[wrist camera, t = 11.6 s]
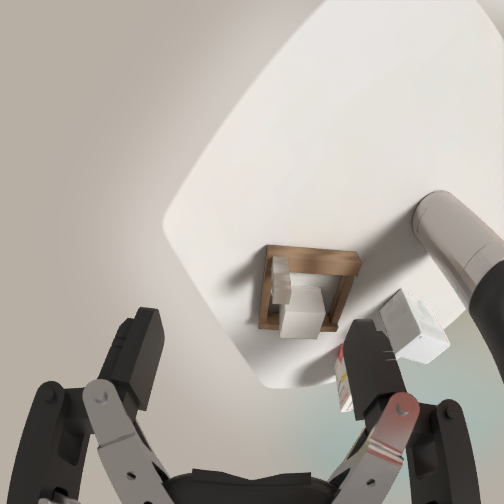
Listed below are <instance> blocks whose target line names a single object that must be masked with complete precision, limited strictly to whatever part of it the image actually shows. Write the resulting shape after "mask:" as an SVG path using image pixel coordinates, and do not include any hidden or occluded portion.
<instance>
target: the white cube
mask: <svg viewBox="0 0 504 504" xmlns="http://www.w3.org/2000/svg"><path fill="white" fill-rule="evenodd" d="M291 290H292V293H291V298H290V303H289V305H285V304H280V307H279V330H280V338H294V339H317V337H318V334H319V332H320V329H321V326H322V323H323V320H324V317H325V314H326V312H325V307H324V303H323V298H322V294H321V289H320V287H307V286H291Z"/></svg>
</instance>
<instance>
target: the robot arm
mask: <svg viewBox="0 0 504 504" xmlns="http://www.w3.org/2000/svg"><path fill="white" fill-rule="evenodd" d="M412 227H413V232H414V234H415V236H416V237H417V238H418V240H419V241H420V242H421V244H422V245H423V246H424V248H425V249H426V251H427V252H428V253H429V255H430V256H431V257H432V259H433V260H434V261H435V263H436V264H437V266H438V267H439V268H440V270H441V271H442V273H443V274H444V276H445V277H446V279H447V280H448V281H449V283H450V284H451V286H452V287H453V289H454V290H455V292H456V294H457V295H458V297H459V298H460V300H461V301H462V303H463V304H464V306H465V308H466V309H467V311H468V313H469V314H470V316H471V317H472V319H473V321H474V322H475V323H476V326H477V327H478V329H479V331H480V333H481V335H482V336H483V338H484V340H485V342H486V344H487V346H488V348H489V350H490V351H491V353H492V355H493V358H494V360H495V363H496V365H497V367H498V370H499V372H500V375H501V378H502V381H503V383H504V241H503V240H502V239H501V238H500V237H499V236H498V235H497V234H496V233H495V232H494V231H493V230H492V229H491V228H490V227H489V226H488V225H487V224H486V223H485V222H483V221H482V220H481V219H480V218H479V217H478V216H477V215H476V214H475V213H473V212H472V211H471V210H470V209H469V208H468V207H467V206H466V205H464V204H463V203H462V202H461V201H460V200H458V199H457V198H456V197H455V196H453V195H452V194H451V193H449V192H446V191H436V192H433V193H431V194H429V195H428V196H426V197H425V198H424V199H423V200H422V201H421V202H420V203H419V205H418V207H417V208H416V210H415V213H414V216H413V222H412ZM163 346H164V330H163V326H162V322H161V318H160V314H159V310H158V309H154V308H145V307H140V308H139V309H138V311H137V313H136V316H135V318H134V319H131V318H127V319H126V320H125V321H124V322H123V323H122V324H121V326H119V329H118V331H117V333H116V335H115V338H114V340H113V343H112V346H111V347H110V349H109V352H108V354H107V357H106V359H105V362H104V364H103V367H102V369H101V372H100V374H99V376H98V378H97V379H96V380H93V381H91V382H90V383H88V384H87V385H86V387H84V388H70V389H64V388H63V387H62V386H61V385H60V384H59V383H57V382H55V381H48V382H45V383H43V384H42V385H41V386H40V387H39V388H38V390H37V392H36V395H35V398H34V400H33V403H32V406H31V409H30V412H29V415H28V418H27V421H26V424H25V427H24V430H23V433H22V437H21V440H20V444H19V448H18V451H17V455H16V459H15V463H14V467H13V472H12V476H11V481H10V486H9V492H8V498H7V504H81V503H80V502H78V496H79V490H80V484H81V477H82V472H83V467H84V462H85V457H86V452H87V447H88V443H89V438H90V434H95V435H96V438H97V441H98V443H99V447H98V448H97V450H98V454H99V457H100V459H101V462H102V464H103V466H104V468H105V470H106V472H107V475H108V477H109V479H110V481H111V483H112V485H113V487H114V489H115V491H116V493H117V495H118V497H119V498H120V500H121V502H122V504H382V502H383V500H384V499H385V497H386V495H387V494H388V492H389V490H390V488H391V486H392V484H393V482H394V481H395V479H396V477H397V475H398V473H399V471H400V469H401V467H402V465H403V461H404V459H403V458H402V453H403V451H404V448H405V447H406V454H407V460H408V469H409V477H410V486H411V498H412V504H481V501H480V492H479V485H478V478H477V472H476V466H475V461H474V456H473V451H472V446H471V442H470V438H469V434H468V429H467V426H466V422H465V418H464V415H463V411H462V408H461V406H460V405H459V404H458V403H457V402H456V401H454V400H451V399H446V400H443V401H442V402H441V403H440V404H438V405H430V404H424V403H419V402H418V401H417V399H416V398H415V397H414V396H413V395H411V394H409V393H407V391H406V388H405V385H404V382H403V379H402V375H401V372H400V369H399V366H398V364H397V361H396V357H395V354H394V352H393V349H392V346H391V343H390V340H389V339H388V338H387V337H386V335H385V334H384V333H383V332H382V331H376V328H375V325H374V322H373V320H371V319H355V320H353V322H352V324H351V327H350V329H349V332H348V334H347V336H346V339H345V341H344V344H343V357H344V362H345V367H346V371H347V376H348V381H349V386H350V391H351V397H352V402H353V407H354V413H355V419H356V421H357V420H365V427H364V428H363V430H362V431H361V433H360V435H359V437H358V438H357V440H356V442H355V443H354V445H353V446H352V448H351V450H350V451H349V453H348V454H347V456H346V458H345V459H344V461H343V462H342V463H341V464H340V465H339V467H338V468H337V469H336V470H335V471H334V473H333V474H332V475H331V476H330V478H329V479H328V481H327V482H326V481H324V480H321V479H318V478H314V477H311V472H309V473H289V474H279V475H275V476H271V477H266V478H262V479H257V480H248V479H245V478H241V477H237V476H234V475H230V474H227V473H224V472H219V471H209V470H200V469H193V470H192V473H187V474H182V475H178V476H175V477H173V478H170V476H169V475H168V473H167V472H166V470H165V469H164V467H163V465H162V464H161V462H160V461H159V459H158V458H157V457H156V455H155V453H154V452H153V450H152V448H151V446H150V445H149V443H148V441H147V439H146V437H145V435H144V433H143V431H142V430H141V427H140V426H139V423H138V421H137V419H136V415H137V411H138V410H143V411H146V409H147V405H148V402H149V398H150V394H151V390H152V386H153V382H154V379H155V375H156V371H157V368H158V364H159V361H160V357H161V353H162V350H163Z"/></svg>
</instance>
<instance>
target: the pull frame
mask: <svg viewBox="0 0 504 504" xmlns="http://www.w3.org/2000/svg"><path fill="white" fill-rule="evenodd" d="M360 266H361V260H360V258H359V256H358V254H357V252H351V251H339V250H327V249H315V248H302V247H290V246H277V245H267V253H266V261H265V270H264V279H263V287H262V295H261V303H260V312H259V329H270V330H279V313H269V312H268V308H269V301H270V295H271V288H272V304H285V305H289V303H290V298H291V293H292V290H291V281H290V273H289V272H297V273H312V274H327V275H342V277H341V281H340V284H339V287H338V290H337V293H336V296H335V299H334V302H333V305H332V308H331V311H330V314H329V315H325V317H324V320H323V323H322V326H321V329H320V332H336V331H337V329H338V324H337V323H338V321H339V318H340V316H341V313H342V310H343V308H344V305H345V302H346V300H347V297H348V294H349V291H350V288H351V286H352V283H353V280H354V277H355V276H357V275H358V272H359V269H360Z"/></svg>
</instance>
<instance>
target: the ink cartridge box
mask: <svg viewBox="0 0 504 504" xmlns="http://www.w3.org/2000/svg"><path fill="white" fill-rule="evenodd" d="M334 369H335V375H336V382H337V388H338V395H339V403H340V411H341V412H346V411H354V407H353V402H352V397H351V391H350V386H349V381H348V376H347V371H346V367H345V362H344V357H343V344H342V345H341V348H340V351H339V354H338V357H337V359H336V362H335V365H334ZM363 421H365V420H363Z"/></svg>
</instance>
